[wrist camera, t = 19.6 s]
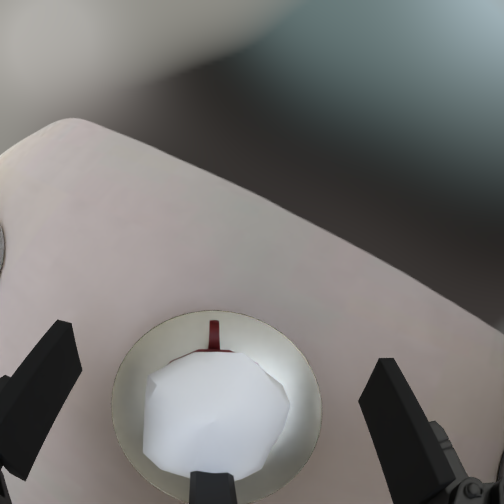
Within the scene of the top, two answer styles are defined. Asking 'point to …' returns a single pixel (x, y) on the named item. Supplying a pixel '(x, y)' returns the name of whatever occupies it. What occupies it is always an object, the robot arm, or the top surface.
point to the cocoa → (212, 419)
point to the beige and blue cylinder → (239, 341)
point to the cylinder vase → (1, 246)
